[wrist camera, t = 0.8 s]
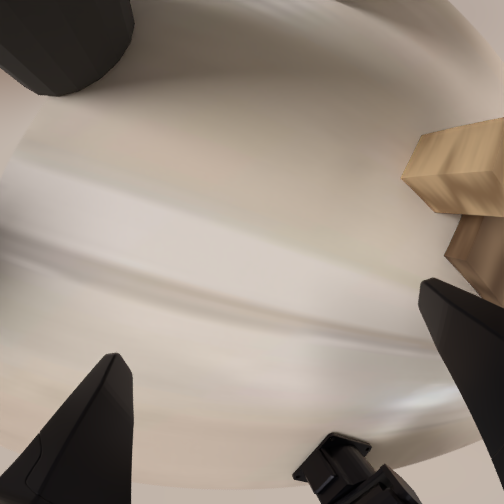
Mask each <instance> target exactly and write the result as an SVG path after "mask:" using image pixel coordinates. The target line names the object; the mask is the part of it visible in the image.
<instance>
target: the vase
mask: <svg viewBox="0 0 504 504" xmlns="http://www.w3.org/2000/svg"><path fill="white" fill-rule="evenodd" d="M134 24H135V23H134V19H133V14H132V9H131V5H130V0H0V68H1V69H2V70H4V71H5V72H6V73H8V74H9V75H10V76H12V77H13V78H14V79H15V80H17V81H18V82H19V83H20V84H22V85H23V86H24V87H26V88H28V89H29V90H31V91H33V92H34V93H36V94H38V95H48V96H60V95H64V94H68V93H71V92H75V91H79V90H81V89H83V88H84V87H86V86H88V85H90V84H91V83H93V82H95V81H97V80H98V79H100V78H101V77H102V76H104V75H105V74H106V73H107V72H108V71H109V70H110V69H111V68H112V67H113V66H114V65H115V64H116V63H117V62H118V61H119V60H120V58H121V57H122V55H123V53H124V52H125V50H126V48H127V47H128V45H129V44H130V42H131V37H132V33H133V28H134Z"/></svg>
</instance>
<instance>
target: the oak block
mask: <svg viewBox="0 0 504 504" xmlns="http://www.w3.org/2000/svg"><path fill="white" fill-rule="evenodd" d="M401 179H402V180H403V181H404V182H405V183H406V184H407V185H408V186H409V187H410V188H411V189H412V190H413V191H414V192H415V193H416V194H417V195H418V196H419V197H420V198H421V199H422V200H423V201H424V202H425V203H426V204H427V205H428V206H429V207H430V208H431V209H432V210H433V211H434V212H436V213H453V214H468V215H482V216H495V217H504V117H503V118H498V119H493V120H488V121H483V122H478V123H473V124H468V125H464V126H459V127H455V128H450V129H446V130H442V131H437V132H433V133H429V134H425V135H422V136H421V138H420V140H419V142H418V144H417V146H416V148H415V150H414V152H413V154H412V156H411V158H410V160H409V162H408V165H407V167H406V169H405V171H404V172H403V174H402V176H401Z"/></svg>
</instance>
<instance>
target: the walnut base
mask: <svg viewBox="0 0 504 504" xmlns="http://www.w3.org/2000/svg"><path fill="white" fill-rule="evenodd" d="M444 256H445V257H446V258H447V259H448V261H449V262H450V263H451V264H452V265H453V266H454V267H455V268H456V269H457V270H458V271H459V272H460V273H461V274H462V276H463V277H464V278H465V279H466V280H467V281H468V282H469V283H470V284H471V286H472V287H473V288H474V289H475V290H476V291H477V292H478V294H479V295H480V296H481V297H482V298H483V299H485V300H487V301H489V302H491V303H494V304H496V305H498V306H500V307H502V308H504V217H495V216H482V215H468V214H463V215H462V217H461V220H460V222H459V224H458V226H457V229H456V231H455V233H454V235H453V238H452V240H451V242H450V244H449V246H448V248H447V250H446V253H445V255H444Z"/></svg>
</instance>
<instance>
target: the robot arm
mask: <svg viewBox="0 0 504 504" xmlns="http://www.w3.org/2000/svg"><path fill="white" fill-rule="evenodd" d="M418 306H419V310H420V312H421V314H422V316H423V319H424V321H425V323H426V325H427V327H428V330H429V332H430V334H431V336H432V339H433V341H434V343H435V346H436V348H437V350H438V352H439V354H440V356H441V357H442V359H443V361H444V363H445V365H446V366H447V368H448V370H449V372H450V374H451V376H452V378H453V379H454V381H455V383H456V385H457V387H458V389H459V391H460V393H461V395H462V397H463V399H464V401H465V403H466V405H467V407H468V409H469V411H470V413H471V415H472V417H473V419H474V421H475V423H476V425H477V427H478V430H479V432H480V434H481V436H482V438H483V441H484V443H485V445H486V447H487V450H488V452H489V454H490V457H491V458H492V462H493V464H494V467H495V469H496V472H497V474H498V476H499V479H500V482H501V484H502V487H503V489H504V308H502V307H500V306H498V305H496V304H494V303H491V302H489V301H487V300H485V299H482V298H480V297H478V296H476V295H473V294H471V293H469V292H467V291H464V290H462V289H460V288H457V287H455V286H453V285H450V284H448V283H446V282H443V281H441V280H439V279H436V278H430V279H427V280H424V281H422V282H421V285H420V293H419V300H418ZM133 427H134V410H133V377H132V372H131V370H130V368H129V367H128V365H127V364H126V363H125V361H124V360H123V358H122V357H121V355H120V354H119V353H110V354H106V355H105V356H104V357H103V358H102V359H101V360H100V361H99V362H98V363H97V365H96V366H95V367H94V368H93V369H92V370H91V372H90V373H89V374H88V375H87V376H86V377H85V378H84V380H83V381H82V382H81V383H80V384H79V385H78V387H77V388H76V389H75V390H74V391H73V393H72V394H71V395H70V396H69V397H68V398H67V400H66V401H65V402H64V403H63V404H62V406H61V407H60V408H59V409H58V410H57V412H56V413H55V414H54V415H53V416H52V418H51V419H50V420H49V421H48V422H47V424H46V425H45V426H44V427H43V428H42V430H41V431H40V434H38V435H37V436H36V437H35V438H34V440H33V441H32V442H31V443H30V444H29V446H28V447H27V448H26V449H25V450H24V451H23V453H22V454H21V455H20V456H19V457H18V458H17V459H16V460H15V462H14V463H13V464H12V465H11V466H10V467H9V468H8V469H7V470H6V471H5V472H4V473H3V474H2V475H1V476H0V504H131V471H132V445H133ZM371 448H372V446H371V445H370V444H368V443H364V442H361V441H357V440H354V439H350V438H347V437H344V436H340V435H337V434H334V433H331V434H328V435H327V436H326V437H325V439H324V440H323V441H322V442H321V443H320V444H319V446H318V447H317V448H316V449H315V450H314V451H313V452H312V454H311V455H310V456H309V457H308V458H307V459H306V460H305V461H304V462H303V464H302V465H301V466H300V467H299V468H298V469H297V470H296V471H295V472H294V473H293V475H292V477H293V479H294V480H298V481H303V482H308V483H309V485H310V486H311V488H312V490H313V492H314V494H316V495H317V497H318V498H319V501H320V502H321V504H422V503H421V501H420V500H419V498H418V497H417V495H416V493H415V492H414V490H412V488H411V487H410V486H409V485H408V484H407V483H406V482H405V481H404V480H403V479H402V477H400V476H399V475H398V474H397V473H396V472H394V471H393V470H392V469H391V468H390V467H388V466H387V465H386V464H384V465H382V466H381V467H380V469H379V470H378V471H377V472H376V471H375V470H374V468H373V467H372V466H371V465H370V463H369V462H368V461H367V460H366V458H365V456H366V455H367V453H368V452H369V451H370V450H371Z"/></svg>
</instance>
